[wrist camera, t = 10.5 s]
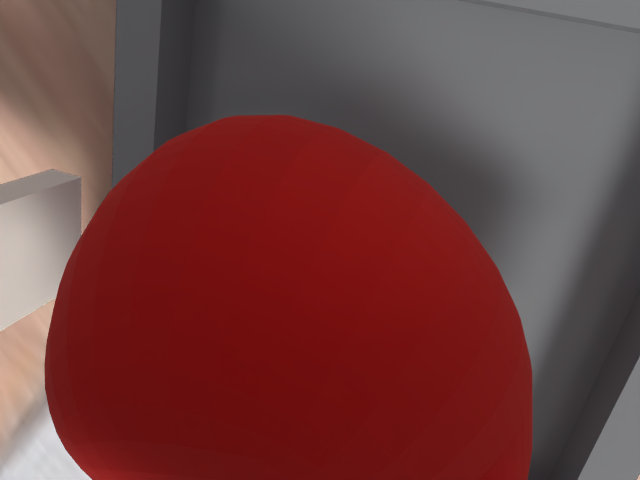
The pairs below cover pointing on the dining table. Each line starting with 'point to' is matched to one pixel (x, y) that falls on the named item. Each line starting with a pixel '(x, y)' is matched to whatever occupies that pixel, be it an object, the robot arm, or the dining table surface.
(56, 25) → the dining table surface
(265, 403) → the red rounded piece
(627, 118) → the socket dish
